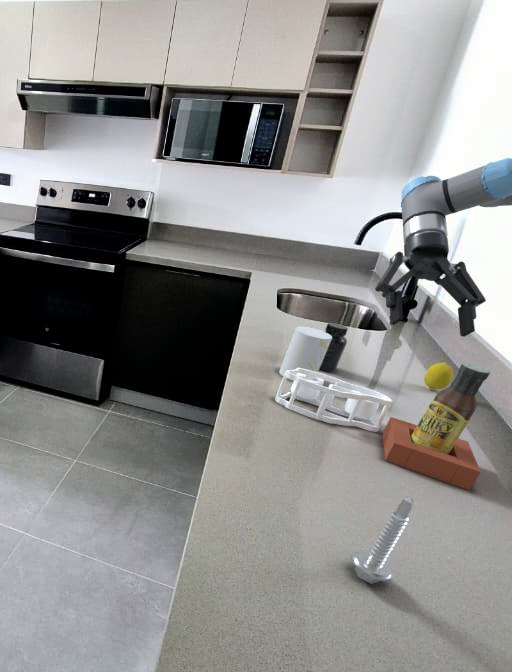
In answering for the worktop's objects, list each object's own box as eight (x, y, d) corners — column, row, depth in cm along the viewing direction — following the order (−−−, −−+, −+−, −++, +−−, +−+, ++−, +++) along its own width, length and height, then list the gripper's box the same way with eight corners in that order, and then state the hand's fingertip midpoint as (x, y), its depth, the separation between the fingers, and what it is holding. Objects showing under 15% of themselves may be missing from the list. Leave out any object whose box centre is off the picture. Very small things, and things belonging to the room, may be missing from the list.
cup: (308, 386, 122) (327, 341, 117) (275, 374, 126) (291, 329, 121) (317, 378, 127) (335, 335, 123) (285, 366, 132) (301, 324, 127)
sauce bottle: (395, 450, 98) (444, 358, 90) (416, 448, 100) (466, 358, 92) (427, 471, 92) (482, 374, 84) (449, 468, 95) (505, 373, 86)
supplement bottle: (313, 359, 140) (329, 319, 135) (338, 369, 136) (356, 328, 131) (303, 364, 136) (320, 323, 131) (330, 374, 132) (348, 332, 127)
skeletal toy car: (379, 423, 108) (394, 393, 105) (375, 441, 100) (390, 410, 97) (283, 388, 119) (294, 360, 116) (272, 403, 110) (283, 373, 107)
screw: (377, 566, 67) (394, 595, 63) (339, 558, 68) (354, 586, 63) (421, 489, 62) (443, 514, 57) (380, 480, 62) (399, 505, 58)
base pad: (457, 458, 99) (467, 441, 97) (469, 490, 88) (481, 472, 86) (382, 433, 104) (390, 416, 102) (385, 460, 94) (394, 442, 92)
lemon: (419, 389, 130) (433, 361, 127) (418, 383, 135) (432, 356, 131) (444, 397, 128) (460, 369, 124) (443, 390, 132) (457, 363, 129)
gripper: (472, 260, 111) (482, 346, 104) (355, 242, 113) (357, 324, 106) (501, 240, 104) (514, 330, 97) (375, 221, 106) (379, 307, 99)
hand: (431, 327), depth 101 cm, fingers open, 13 cm apart
